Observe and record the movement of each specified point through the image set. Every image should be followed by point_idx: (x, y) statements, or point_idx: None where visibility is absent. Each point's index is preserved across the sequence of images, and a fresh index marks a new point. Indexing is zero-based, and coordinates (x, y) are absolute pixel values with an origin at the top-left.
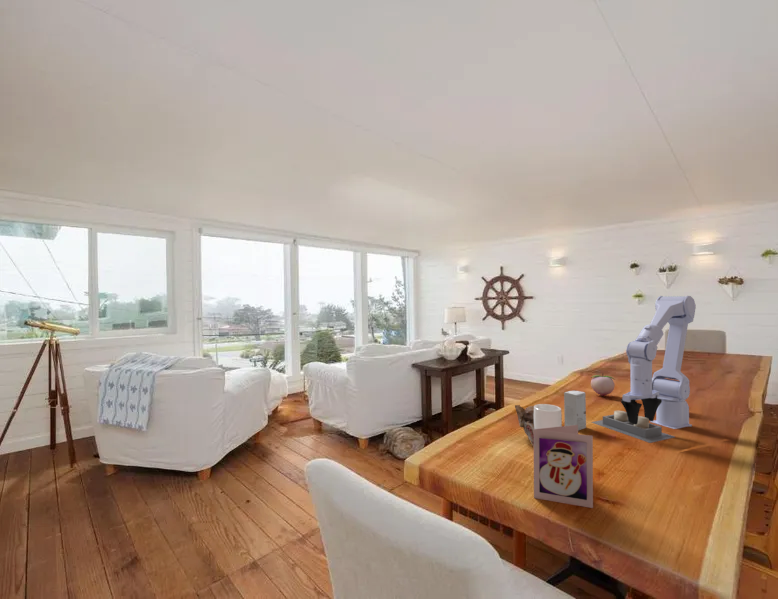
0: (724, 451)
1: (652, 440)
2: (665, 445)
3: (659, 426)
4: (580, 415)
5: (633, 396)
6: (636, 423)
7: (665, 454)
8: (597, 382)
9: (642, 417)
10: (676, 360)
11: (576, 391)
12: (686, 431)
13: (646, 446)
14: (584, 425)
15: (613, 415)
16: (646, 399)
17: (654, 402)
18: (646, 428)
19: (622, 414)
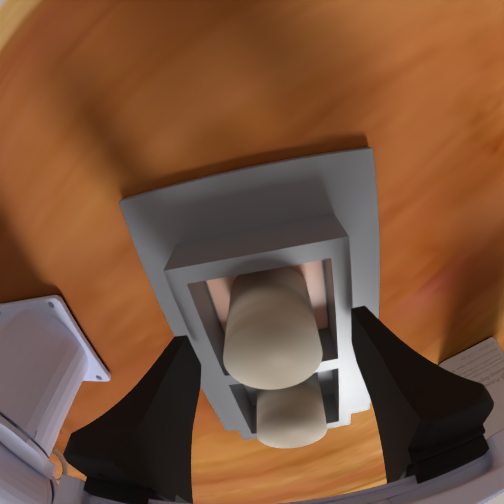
0: (45, 20)
1: (322, 175)
2: (286, 110)
3: (173, 279)
4: (497, 390)
5: (488, 489)
6: (361, 309)
7: (403, 20)
8: None
9: (249, 368)
10: None
11: None
12: (24, 271)
13: (410, 131)
14: (455, 369)
15: None
16: (172, 489)
17: (140, 453)
18: (273, 284)
19: (313, 416)
